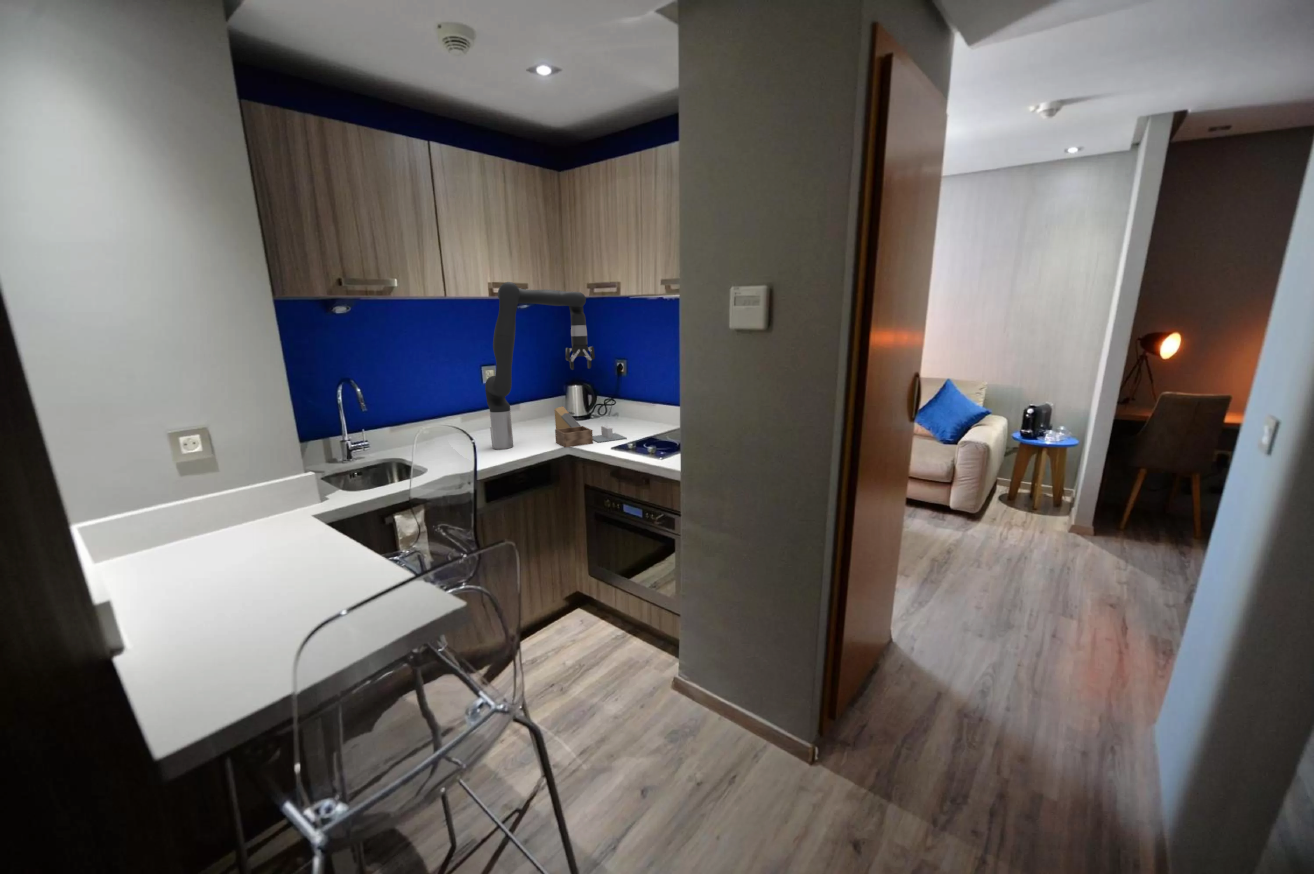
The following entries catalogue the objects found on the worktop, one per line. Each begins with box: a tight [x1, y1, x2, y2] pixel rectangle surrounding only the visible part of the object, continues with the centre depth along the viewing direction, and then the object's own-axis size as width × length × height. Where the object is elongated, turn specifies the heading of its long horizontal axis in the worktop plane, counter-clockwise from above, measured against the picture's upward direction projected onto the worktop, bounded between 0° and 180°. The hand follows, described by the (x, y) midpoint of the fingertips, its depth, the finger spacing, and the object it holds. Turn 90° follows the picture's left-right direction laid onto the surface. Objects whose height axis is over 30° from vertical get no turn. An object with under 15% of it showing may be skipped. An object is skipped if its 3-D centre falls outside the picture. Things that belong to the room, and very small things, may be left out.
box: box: [554, 425, 594, 448], centre depth 248 cm, size 14×12×7 cm
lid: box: [593, 425, 628, 444], centre depth 256 cm, size 15×13×7 cm
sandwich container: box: [553, 406, 582, 429], centre depth 264 cm, size 9×15×15 cm, turn 71°
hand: (580, 368), depth 256 cm, fingers open, 8 cm apart
